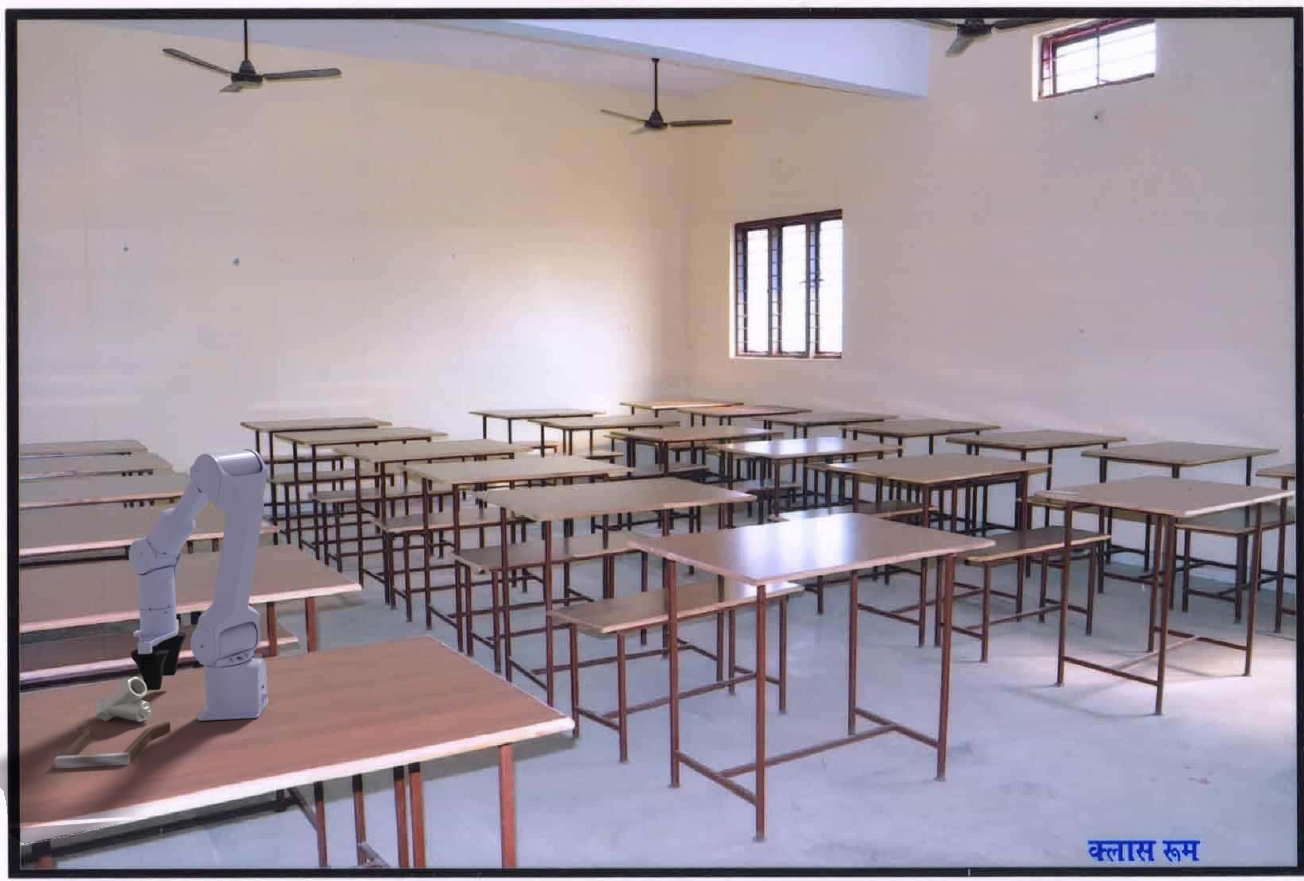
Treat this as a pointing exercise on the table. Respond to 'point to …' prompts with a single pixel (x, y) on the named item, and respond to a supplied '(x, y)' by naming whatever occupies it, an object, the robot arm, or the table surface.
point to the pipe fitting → (125, 702)
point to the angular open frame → (109, 759)
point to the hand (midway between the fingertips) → (161, 682)
